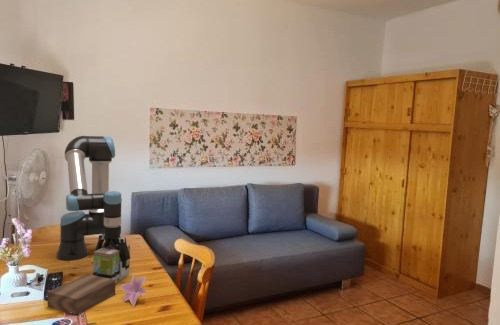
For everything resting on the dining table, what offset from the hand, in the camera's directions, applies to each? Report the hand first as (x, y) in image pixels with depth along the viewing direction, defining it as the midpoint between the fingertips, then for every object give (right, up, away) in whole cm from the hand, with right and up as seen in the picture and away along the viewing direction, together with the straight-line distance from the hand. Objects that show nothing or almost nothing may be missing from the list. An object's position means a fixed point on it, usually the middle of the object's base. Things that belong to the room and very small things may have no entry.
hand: (111, 272), depth 171 cm
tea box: (0, -3, 0) cm, 3 cm away
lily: (+17, -6, -20) cm, 27 cm away
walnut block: (-3, -5, -22) cm, 23 cm away
